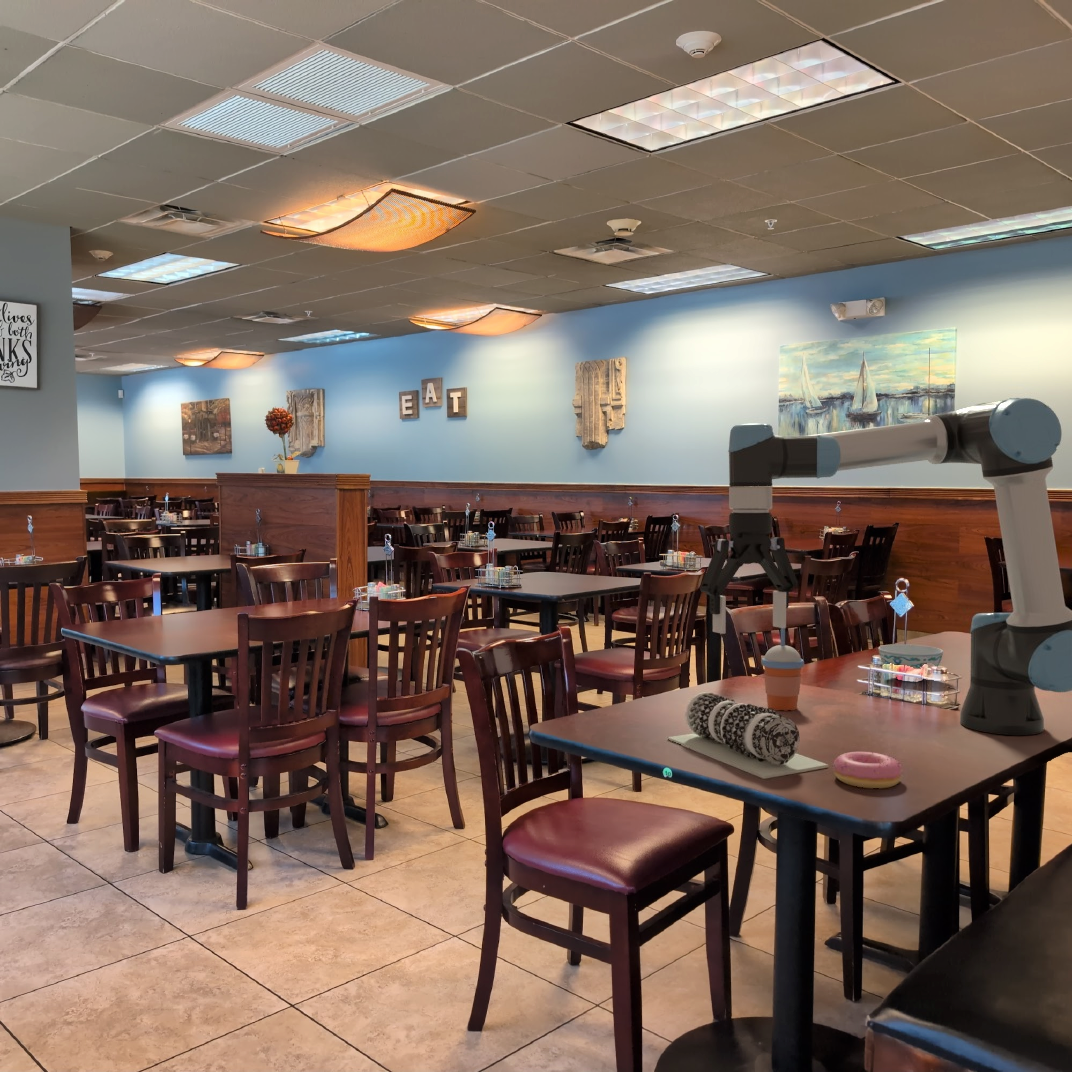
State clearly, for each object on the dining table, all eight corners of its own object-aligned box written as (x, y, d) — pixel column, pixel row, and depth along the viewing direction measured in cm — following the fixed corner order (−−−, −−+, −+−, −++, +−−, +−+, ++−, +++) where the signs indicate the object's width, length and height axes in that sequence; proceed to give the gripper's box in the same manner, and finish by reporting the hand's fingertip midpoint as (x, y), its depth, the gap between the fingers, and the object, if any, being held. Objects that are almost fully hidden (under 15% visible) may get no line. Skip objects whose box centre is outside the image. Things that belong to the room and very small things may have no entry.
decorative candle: (731, 700, 189) (815, 726, 166) (713, 744, 188) (795, 777, 165) (695, 682, 186) (776, 707, 163) (676, 727, 184) (756, 758, 161)
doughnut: (900, 795, 153) (901, 768, 152) (828, 786, 157) (828, 761, 157) (904, 776, 163) (905, 751, 162) (836, 769, 167) (836, 745, 167)
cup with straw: (785, 714, 206) (785, 630, 205) (752, 706, 213) (752, 625, 212) (812, 708, 211) (813, 626, 210) (779, 701, 218) (780, 621, 218)
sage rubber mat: (667, 739, 186) (667, 737, 186) (726, 731, 192) (726, 728, 192) (763, 778, 161) (763, 775, 161) (828, 767, 167) (828, 764, 167)
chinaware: (938, 675, 247) (939, 645, 247) (945, 687, 233) (946, 655, 232) (876, 672, 252) (877, 643, 251) (879, 684, 237) (880, 652, 237)
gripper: (790, 509, 182) (789, 622, 183) (680, 512, 171) (680, 632, 172) (818, 510, 175) (817, 627, 176) (706, 513, 164) (705, 637, 165)
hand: (749, 630), depth 174 cm, fingers open, 13 cm apart
